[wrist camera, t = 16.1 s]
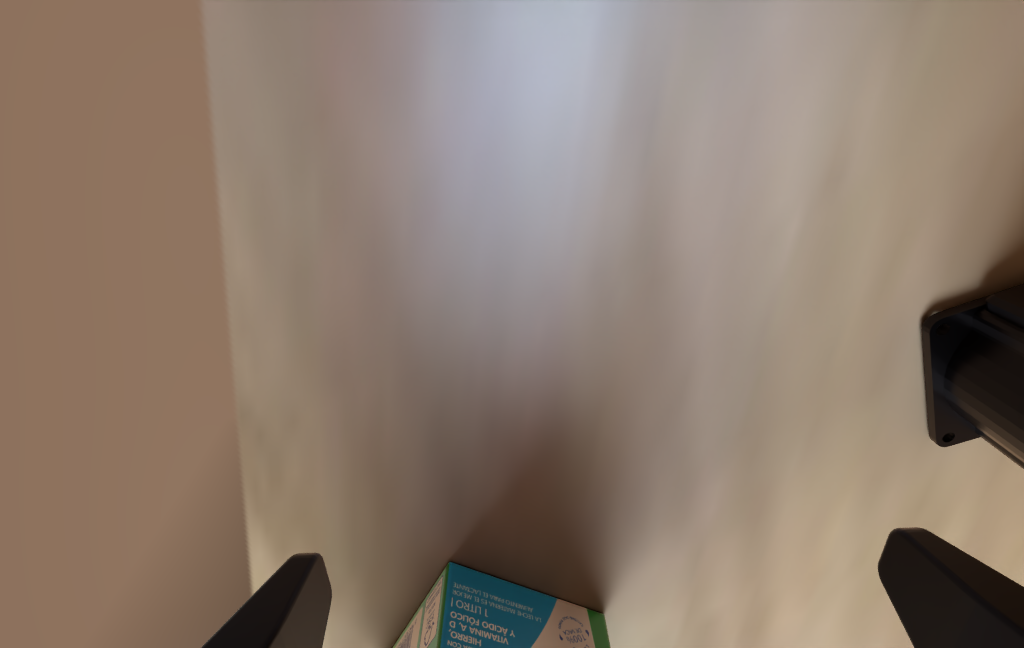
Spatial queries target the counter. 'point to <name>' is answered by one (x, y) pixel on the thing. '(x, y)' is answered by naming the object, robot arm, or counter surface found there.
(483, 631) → the milk carton
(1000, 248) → the counter surface
